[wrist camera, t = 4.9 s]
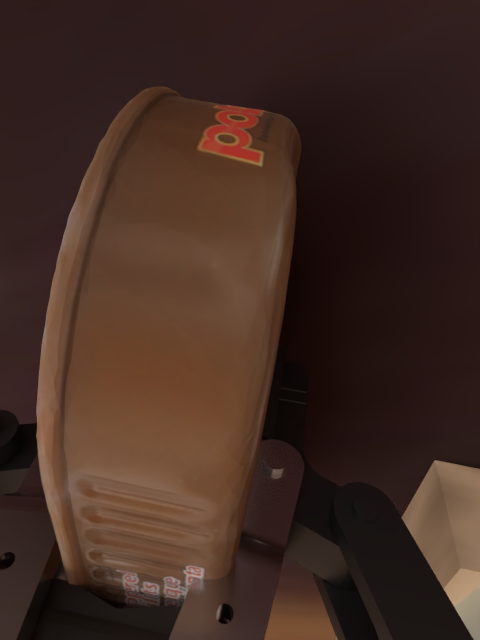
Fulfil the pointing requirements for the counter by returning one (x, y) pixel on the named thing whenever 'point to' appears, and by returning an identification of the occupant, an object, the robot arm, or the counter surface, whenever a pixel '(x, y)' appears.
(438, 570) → the tower bottom
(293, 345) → the counter surface
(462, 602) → the tower top
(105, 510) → the tin
